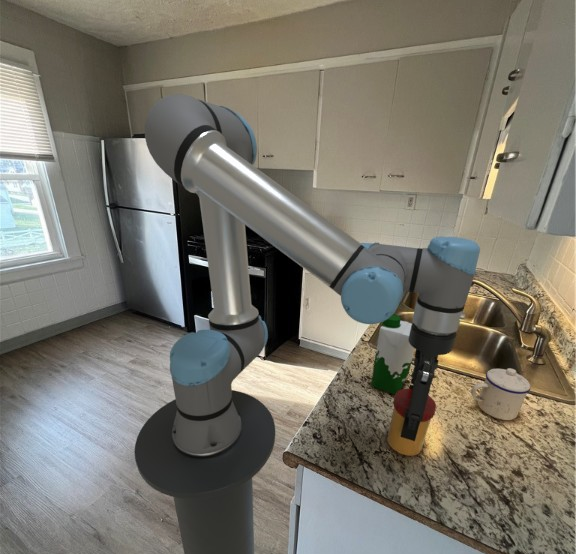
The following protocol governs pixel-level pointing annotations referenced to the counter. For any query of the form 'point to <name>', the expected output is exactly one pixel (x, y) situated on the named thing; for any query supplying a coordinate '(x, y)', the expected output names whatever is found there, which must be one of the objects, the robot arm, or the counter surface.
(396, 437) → the jam jar
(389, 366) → the milk carton
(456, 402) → the counter surface
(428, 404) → the jam lid
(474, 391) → the teacup with lid
